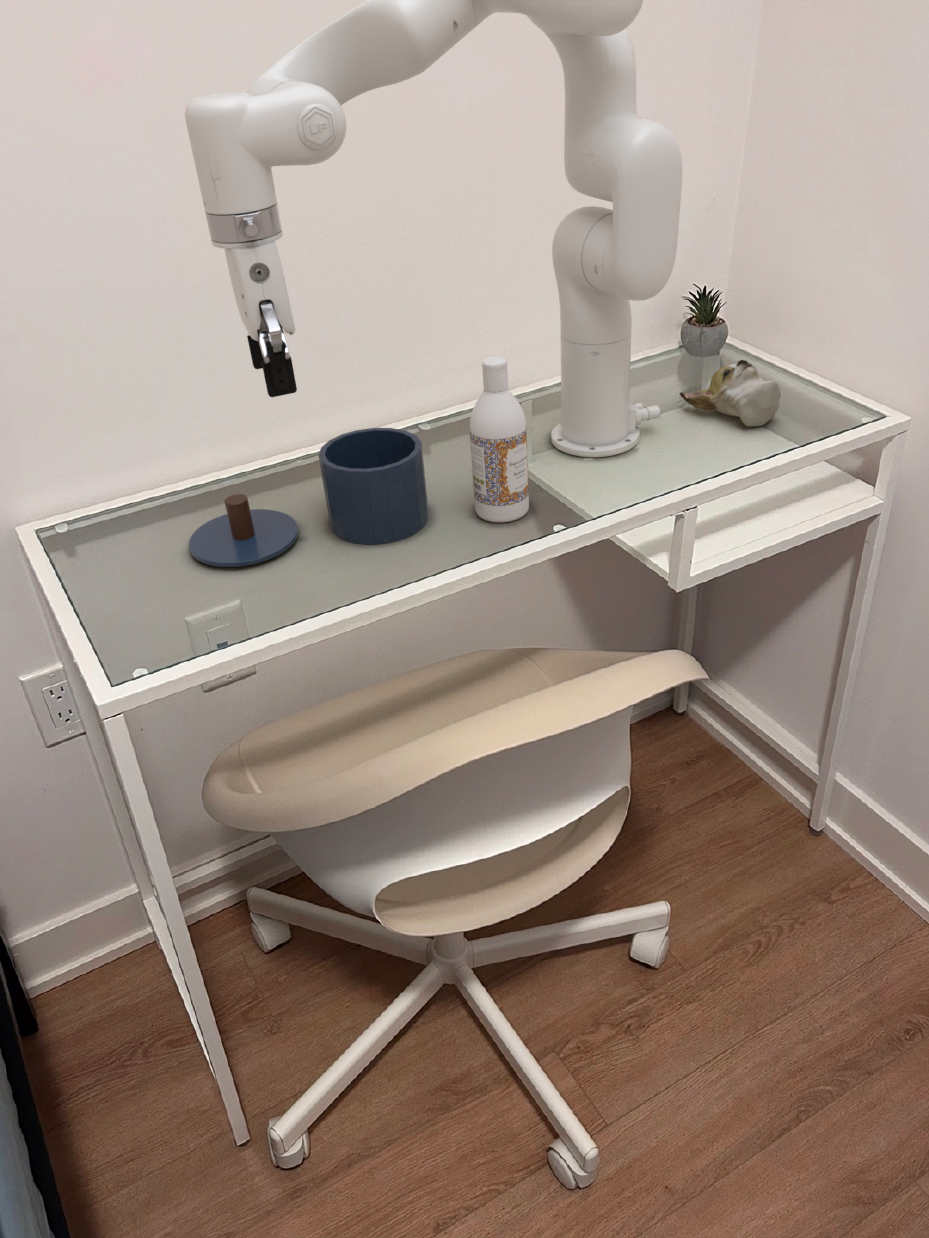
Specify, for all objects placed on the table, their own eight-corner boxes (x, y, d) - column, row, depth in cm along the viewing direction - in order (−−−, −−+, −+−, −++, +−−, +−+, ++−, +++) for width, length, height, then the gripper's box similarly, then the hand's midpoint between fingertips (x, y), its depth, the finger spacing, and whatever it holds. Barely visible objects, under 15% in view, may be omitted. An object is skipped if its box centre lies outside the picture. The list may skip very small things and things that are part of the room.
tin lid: (287, 508, 134) (279, 466, 130) (309, 555, 123) (301, 510, 119) (184, 531, 130) (173, 488, 127) (198, 581, 120) (186, 536, 116)
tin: (411, 489, 136) (403, 420, 130) (441, 531, 126) (435, 458, 120) (320, 509, 133) (309, 439, 127) (344, 554, 123) (332, 480, 117)
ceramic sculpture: (747, 379, 137) (676, 356, 148) (743, 440, 141) (675, 412, 153) (805, 362, 141) (732, 341, 152) (800, 422, 145) (730, 396, 157)
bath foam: (503, 529, 125) (494, 375, 114) (464, 513, 129) (452, 362, 118) (540, 509, 129) (536, 357, 118) (501, 493, 133) (493, 346, 122)
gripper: (296, 237, 100) (323, 399, 110) (265, 204, 114) (292, 351, 123) (220, 249, 98) (255, 413, 108) (199, 214, 112) (231, 362, 122)
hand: (274, 380), depth 116 cm, fingers open, 9 cm apart
